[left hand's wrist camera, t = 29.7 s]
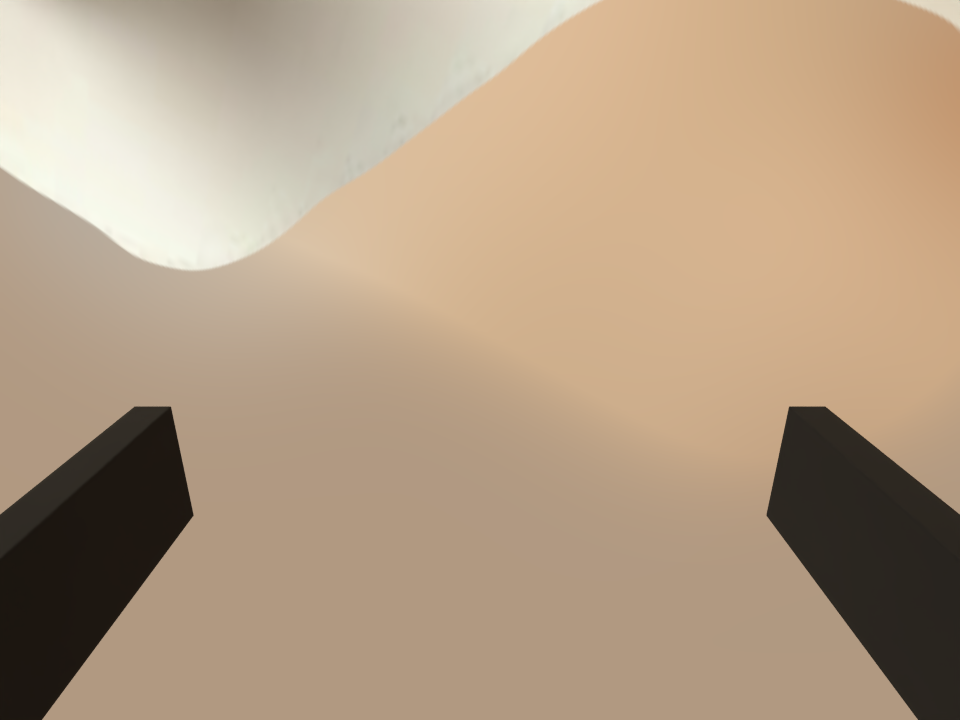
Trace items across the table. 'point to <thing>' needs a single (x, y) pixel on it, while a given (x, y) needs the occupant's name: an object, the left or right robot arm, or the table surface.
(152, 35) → the table surface
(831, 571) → the left robot arm
